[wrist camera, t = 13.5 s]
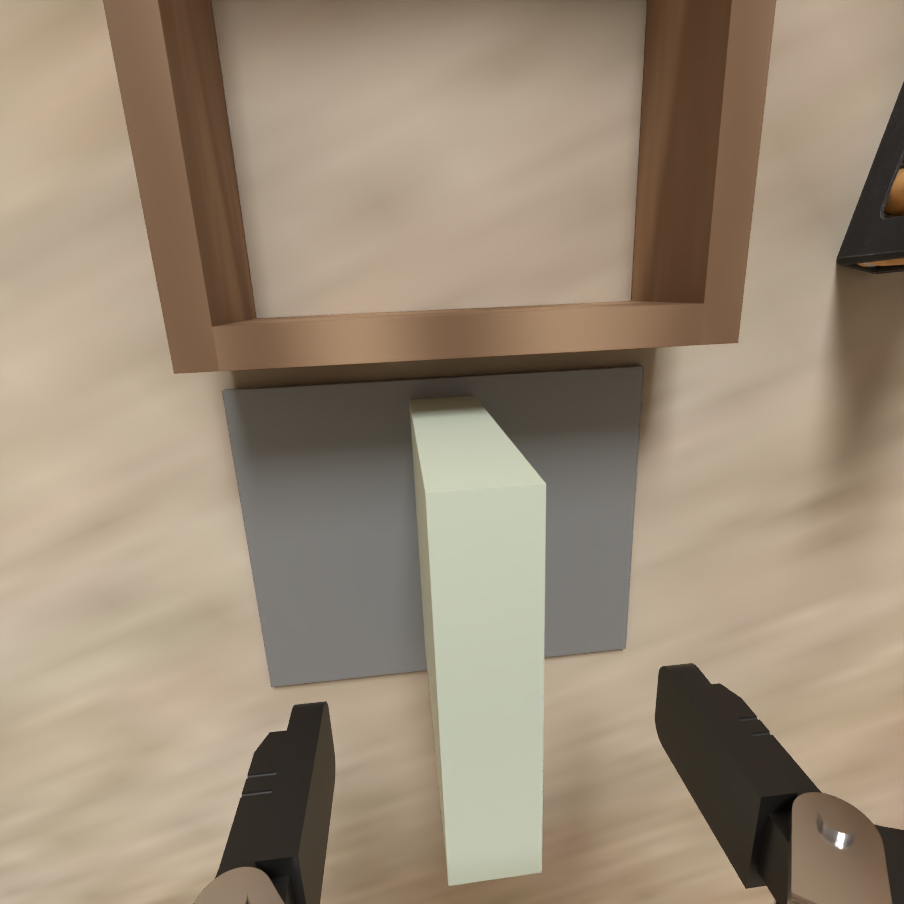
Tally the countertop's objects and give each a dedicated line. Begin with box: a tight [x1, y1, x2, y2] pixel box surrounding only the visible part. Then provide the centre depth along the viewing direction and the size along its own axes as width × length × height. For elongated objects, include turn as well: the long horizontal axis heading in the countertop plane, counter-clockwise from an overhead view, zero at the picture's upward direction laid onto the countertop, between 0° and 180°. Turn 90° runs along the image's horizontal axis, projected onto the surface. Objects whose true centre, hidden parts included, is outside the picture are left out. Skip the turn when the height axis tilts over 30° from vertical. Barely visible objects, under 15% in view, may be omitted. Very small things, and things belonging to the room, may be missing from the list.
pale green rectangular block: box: [409, 396, 546, 886], centre depth 17 cm, size 2×11×10 cm, turn 2°
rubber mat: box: [222, 366, 643, 687], centre depth 22 cm, size 16×13×1 cm
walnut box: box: [103, 0, 776, 374], centre depth 15 cm, size 16×16×5 cm
